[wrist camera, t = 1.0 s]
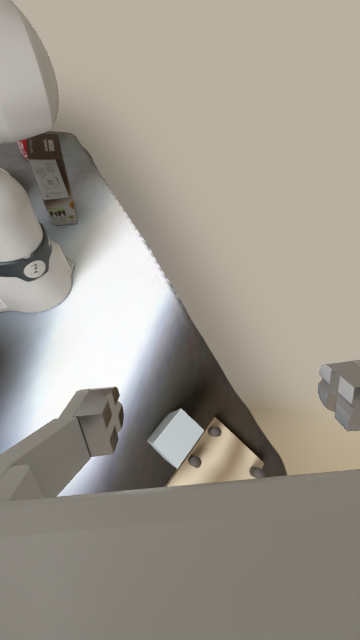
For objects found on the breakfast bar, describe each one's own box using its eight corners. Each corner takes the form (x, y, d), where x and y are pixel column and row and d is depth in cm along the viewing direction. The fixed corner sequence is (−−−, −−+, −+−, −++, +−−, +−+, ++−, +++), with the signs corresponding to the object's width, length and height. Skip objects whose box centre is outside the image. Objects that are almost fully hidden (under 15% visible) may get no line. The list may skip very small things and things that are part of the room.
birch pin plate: (162, 489, 38) (166, 495, 34) (213, 417, 45) (220, 416, 41) (216, 546, 36) (226, 559, 33) (261, 462, 43) (273, 465, 39)
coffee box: (78, 224, 60) (63, 159, 45) (52, 226, 57) (27, 159, 43) (73, 200, 63) (57, 133, 49) (48, 201, 61) (23, 132, 47)
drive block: (146, 440, 41) (152, 443, 30) (168, 413, 44) (181, 408, 33) (164, 458, 40) (177, 468, 30) (185, 430, 43) (204, 430, 32)
